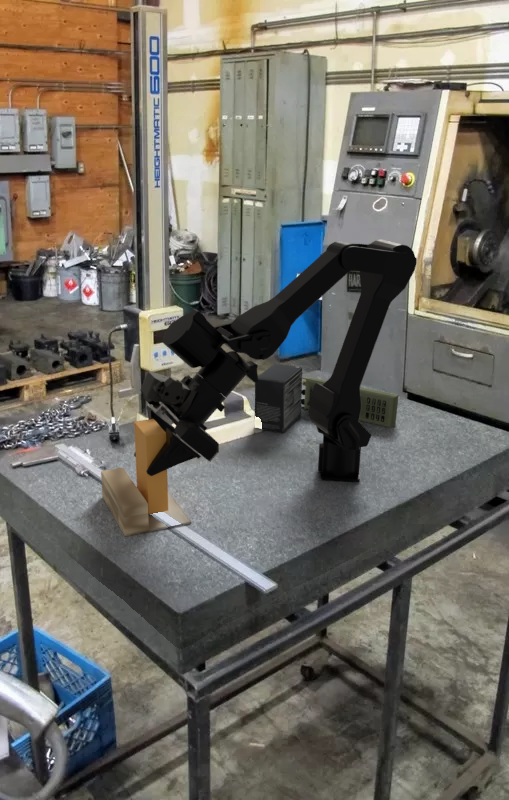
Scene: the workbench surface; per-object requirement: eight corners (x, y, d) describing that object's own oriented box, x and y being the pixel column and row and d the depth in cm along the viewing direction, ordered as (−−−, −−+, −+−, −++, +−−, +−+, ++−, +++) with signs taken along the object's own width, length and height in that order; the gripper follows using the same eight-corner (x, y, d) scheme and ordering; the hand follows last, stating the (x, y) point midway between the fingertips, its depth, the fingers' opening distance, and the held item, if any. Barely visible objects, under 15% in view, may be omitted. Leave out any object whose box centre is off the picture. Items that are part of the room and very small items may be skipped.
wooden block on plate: (163, 486, 123) (163, 460, 121) (191, 523, 112) (191, 495, 110) (102, 497, 119) (101, 471, 117) (124, 536, 108) (123, 508, 106)
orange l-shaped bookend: (156, 493, 119) (153, 418, 114) (168, 510, 113) (166, 432, 109) (121, 499, 116) (117, 423, 112) (132, 517, 111) (128, 438, 107)
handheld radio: (391, 430, 148) (278, 405, 160) (396, 425, 151) (285, 401, 163) (394, 397, 146) (279, 374, 158) (400, 393, 149) (287, 371, 160)
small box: (272, 410, 156) (273, 361, 153) (302, 415, 154) (304, 366, 150) (252, 428, 147) (253, 376, 143) (283, 434, 145) (285, 381, 141)
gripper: (154, 336, 117) (87, 413, 116) (196, 371, 101) (119, 461, 100) (202, 379, 123) (139, 452, 122) (250, 418, 107) (177, 503, 106)
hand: (142, 465), depth 113 cm, fingers closed on orange l-shaped bookend, 6 cm apart
